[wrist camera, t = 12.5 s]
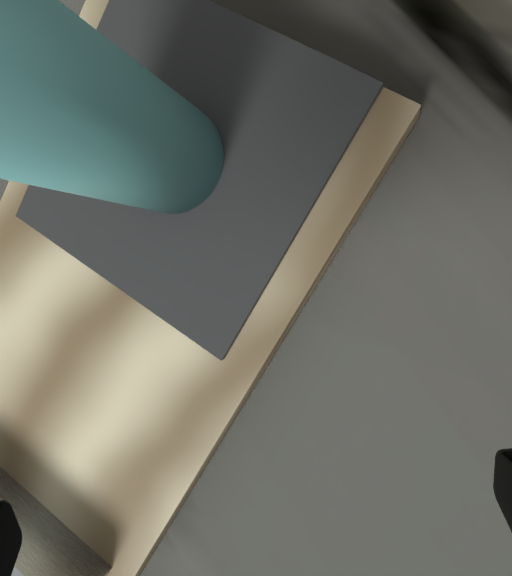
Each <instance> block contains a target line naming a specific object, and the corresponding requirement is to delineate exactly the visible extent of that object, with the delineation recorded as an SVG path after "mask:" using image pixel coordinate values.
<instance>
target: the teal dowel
mask: <svg viewBox="0 0 512 576" xmlns="http://www.w3.org/2000/svg"><path fill="white" fill-rule="evenodd" d="M223 160H224V152H223V144H222V140H221V137H220V134H219V132H218V130H217V128H216V126H215V125H214V123H213V122H212V121H211V119H210V118H209V117H208V116H207V115H206V114H204V113H203V112H202V111H200V110H199V109H198V108H197V107H195V106H194V105H193V104H191V103H190V102H189V101H187V100H186V99H185V98H184V97H182V96H181V95H180V94H178V93H177V92H176V91H175V90H173V89H172V88H171V87H169V86H168V85H167V84H166V83H164V82H163V81H162V80H160V79H159V78H158V77H157V76H155V75H154V74H153V73H151V72H150V71H149V70H148V69H146V68H145V67H144V66H142V65H141V64H140V63H138V62H137V61H136V60H135V59H133V58H132V57H131V56H129V55H128V54H127V53H126V52H124V51H123V50H122V49H120V48H119V47H118V46H117V45H115V44H114V43H113V42H111V41H110V40H109V39H108V38H106V37H105V36H104V35H102V34H101V33H100V32H99V31H97V30H96V29H95V28H93V27H92V26H91V25H89V24H88V23H87V22H86V21H84V20H83V19H82V18H80V17H79V16H78V15H77V14H75V13H74V12H73V11H71V10H70V9H69V8H68V7H66V6H65V5H64V4H62V3H61V2H60V1H59V0H0V179H4V180H9V181H14V182H19V183H23V184H28V185H33V186H38V187H42V188H47V189H52V190H57V191H61V192H66V193H71V194H76V195H81V196H85V197H90V198H95V199H100V200H104V201H109V202H114V203H119V204H124V205H128V206H133V207H138V208H143V209H147V210H152V211H157V212H162V213H168V214H178V213H183V212H186V211H189V210H191V209H193V208H195V207H197V206H198V205H200V204H201V203H202V202H204V201H205V200H206V199H207V198H208V197H209V195H210V194H211V193H212V191H213V190H214V188H215V187H216V185H217V183H218V181H219V178H220V175H221V172H222V168H223Z"/></svg>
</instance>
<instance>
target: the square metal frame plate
mask: <svg viewBox="0 0 512 576" xmlns="http://www.w3.org/2000/svg"><path fill="white" fill-rule="evenodd" d="M0 500H8V501H9V502H10V503H11V505H12V507H13V510H14V512H15V515H16V518H17V520H18V523H19V525H20V528H21V531H22V545H21V548H20V551H19V554H18V557H17V560H16V563H15V566H14V569H13V572H12V575H11V576H108V574H109V572H110V571H111V569H112V567H111V566H110V565H109V564H108V563H107V562H106V561H105V560H103V559H102V558H101V557H100V556H99V555H98V554H97V553H96V552H95V551H93V550H92V549H91V548H90V547H89V546H88V545H87V544H86V543H85V542H83V541H82V540H81V539H80V538H79V537H78V536H77V535H76V534H75V533H73V532H72V531H71V530H70V529H69V528H68V527H67V526H66V525H65V524H63V523H62V522H61V521H60V520H59V519H58V518H57V517H56V516H55V515H53V514H52V513H51V512H50V511H49V510H48V509H47V508H46V507H45V506H43V505H42V504H41V503H40V502H39V501H38V500H37V499H36V498H35V497H33V496H32V495H31V494H30V493H29V492H28V491H27V490H26V489H25V488H23V487H22V486H21V485H20V484H19V483H18V482H17V481H16V480H15V479H13V478H12V477H11V476H10V475H9V474H8V473H7V472H6V471H5V470H3V469H2V468H1V467H0Z"/></svg>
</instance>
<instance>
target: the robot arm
mask: <svg viewBox="0 0 512 576" xmlns="http://www.w3.org/2000/svg"><path fill="white" fill-rule="evenodd" d="M493 488H494V493H495V497H496V500H497V502H498V504H499V506H500V508H501V510H502V513H503V515H504V517H505V519H506V521H507V523H508V525H509V527H510V530H511V532H512V448H510V449H501V450H499V451H497V453H496V456H495V468H494V483H493ZM21 545H22V531H21V528H20V525H19V523H18V520H17V518H16V515H15V512H14V510H13V507H12V505H11V503H10V502H9V501H8V500H0V576H11V575H12V572H13V569H14V566H15V563H16V560H17V557H18V554H19V551H20V548H21Z"/></svg>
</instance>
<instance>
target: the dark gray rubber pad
mask: <svg viewBox="0 0 512 576" xmlns="http://www.w3.org/2000/svg"><path fill="white" fill-rule="evenodd" d="M96 30H97V31H99V32H100V33H101V34H102V35H104V36H105V37H106V38H108V39H109V40H110V41H111V42H113V43H114V44H115V45H117V46H118V47H119V48H120V49H122V50H123V51H124V52H126V53H127V54H128V55H129V56H131V57H132V58H133V59H135V60H136V61H137V62H138V63H140V64H141V65H142V66H144V67H145V68H146V69H148V70H149V71H150V72H151V73H153V74H154V75H155V76H157V77H158V78H159V79H160V80H162V81H163V82H164V83H166V84H167V85H168V86H169V87H171V88H172V89H173V90H175V91H176V92H177V93H178V94H180V95H181V96H182V97H184V98H185V99H186V100H187V101H189V102H190V103H191V104H193V105H194V106H195V107H197V108H198V109H199V110H200V111H202V112H203V113H204V114H206V115H207V116H208V117H209V118H210V119H211V121H212V122H213V123H214V125H215V126H216V128H217V130H218V132H219V134H220V137H221V140H222V144H223V152H224V160H223V168H222V172H221V175H220V178H219V181H218V183H217V185H216V187H215V188H214V190H213V191H212V193H211V194H210V195H209V197H208V198H207V199H206V200H205V201H204V202H202V203H201V204H200V205H198V206H197V207H195V208H193V209H191V210H189V211H186V212H183V213H178V214H168V213H162V212H157V211H152V210H147V209H143V208H138V207H133V206H128V205H124V204H119V203H114V202H109V201H104V200H100V199H95V198H90V197H85V196H81V195H76V194H71V193H66V192H61V191H57V190H52V189H47V188H42V187H38V186H33V185H28V188H27V190H26V192H25V195H24V197H23V199H22V202H21V204H20V206H19V208H18V211H17V213H16V215H15V216H16V217H18V218H19V219H21V220H22V221H23V222H25V223H26V224H28V225H29V226H31V227H32V228H33V229H35V230H36V231H38V232H39V233H40V234H42V235H43V236H45V237H46V238H48V239H49V240H50V241H52V242H53V243H55V244H56V245H57V246H59V247H60V248H62V249H63V250H65V251H66V252H67V253H69V254H70V255H72V256H73V257H75V258H76V259H77V260H79V261H80V262H82V263H83V264H84V265H86V266H87V267H89V268H90V269H92V270H93V271H94V272H96V273H97V274H99V275H100V276H101V277H103V278H104V279H106V280H107V281H109V282H110V283H111V284H113V285H114V286H116V287H117V288H118V289H120V290H121V291H123V292H124V293H126V294H127V295H128V296H130V297H131V298H133V299H134V300H136V301H137V302H138V303H140V304H141V305H143V306H144V307H145V308H147V309H148V310H150V311H151V312H153V313H154V314H155V315H157V316H158V317H160V318H161V319H162V320H164V321H165V322H167V323H168V324H170V325H171V326H172V327H174V328H175V329H177V330H178V331H179V332H181V333H182V334H184V335H185V336H187V337H188V338H189V339H191V340H192V341H194V342H195V343H197V344H198V345H199V346H201V347H202V348H204V349H205V350H206V351H208V352H209V353H211V354H212V355H214V356H215V357H216V358H218V359H219V360H221V361H222V360H223V359H225V357H226V356H227V354H228V352H229V350H230V349H231V347H232V345H233V344H234V342H235V340H236V338H237V337H238V335H239V333H240V332H241V330H242V328H243V326H244V325H245V323H246V321H247V320H248V318H249V316H250V315H251V313H252V311H253V309H254V308H255V306H256V304H257V303H258V301H259V299H260V297H261V296H262V294H263V292H264V291H265V289H266V287H267V285H268V284H269V282H270V280H271V279H272V277H273V275H274V273H275V272H276V270H277V268H278V267H279V265H280V263H281V261H282V260H283V258H284V256H285V255H286V253H287V251H288V250H289V248H290V246H291V244H292V243H293V241H294V239H295V238H296V236H297V234H298V232H299V231H300V229H301V227H302V226H303V224H304V222H305V220H306V219H307V217H308V215H309V214H310V212H311V210H312V208H313V207H314V205H315V203H316V202H317V200H318V198H319V196H320V195H321V193H322V191H323V190H324V188H325V186H326V185H327V183H328V181H329V179H330V178H331V176H332V174H333V173H334V171H335V169H336V167H337V166H338V164H339V162H340V161H341V159H342V157H343V155H344V154H345V152H346V150H347V149H348V147H349V145H350V143H351V142H352V140H353V138H354V137H355V135H356V133H357V131H358V130H359V128H360V126H361V125H362V123H363V121H364V120H365V118H366V116H367V114H368V113H369V111H370V109H371V108H372V106H373V104H374V102H375V101H376V99H377V97H378V96H379V94H380V92H381V90H382V89H383V87H384V85H383V82H381V81H379V80H377V79H375V78H373V77H371V76H369V75H367V74H365V73H362V72H360V71H358V70H356V69H354V68H352V67H350V66H348V65H346V64H344V63H341V62H339V61H337V60H335V59H333V58H331V57H329V56H327V55H325V54H323V53H320V52H318V51H316V50H314V49H312V48H310V47H308V46H306V45H304V44H302V43H299V42H297V41H295V40H293V39H291V38H289V37H287V36H285V35H283V34H281V33H279V32H276V31H274V30H272V29H270V28H268V27H266V26H264V25H262V24H260V23H258V22H255V21H253V20H251V19H249V18H247V17H245V16H243V15H241V14H239V13H237V12H234V11H232V10H230V9H228V8H226V7H224V6H222V5H220V4H218V3H216V2H213V1H211V0H109V2H108V4H107V6H106V8H105V11H104V13H103V15H102V18H101V20H100V22H99V25H98V27H97V29H96Z"/></svg>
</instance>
